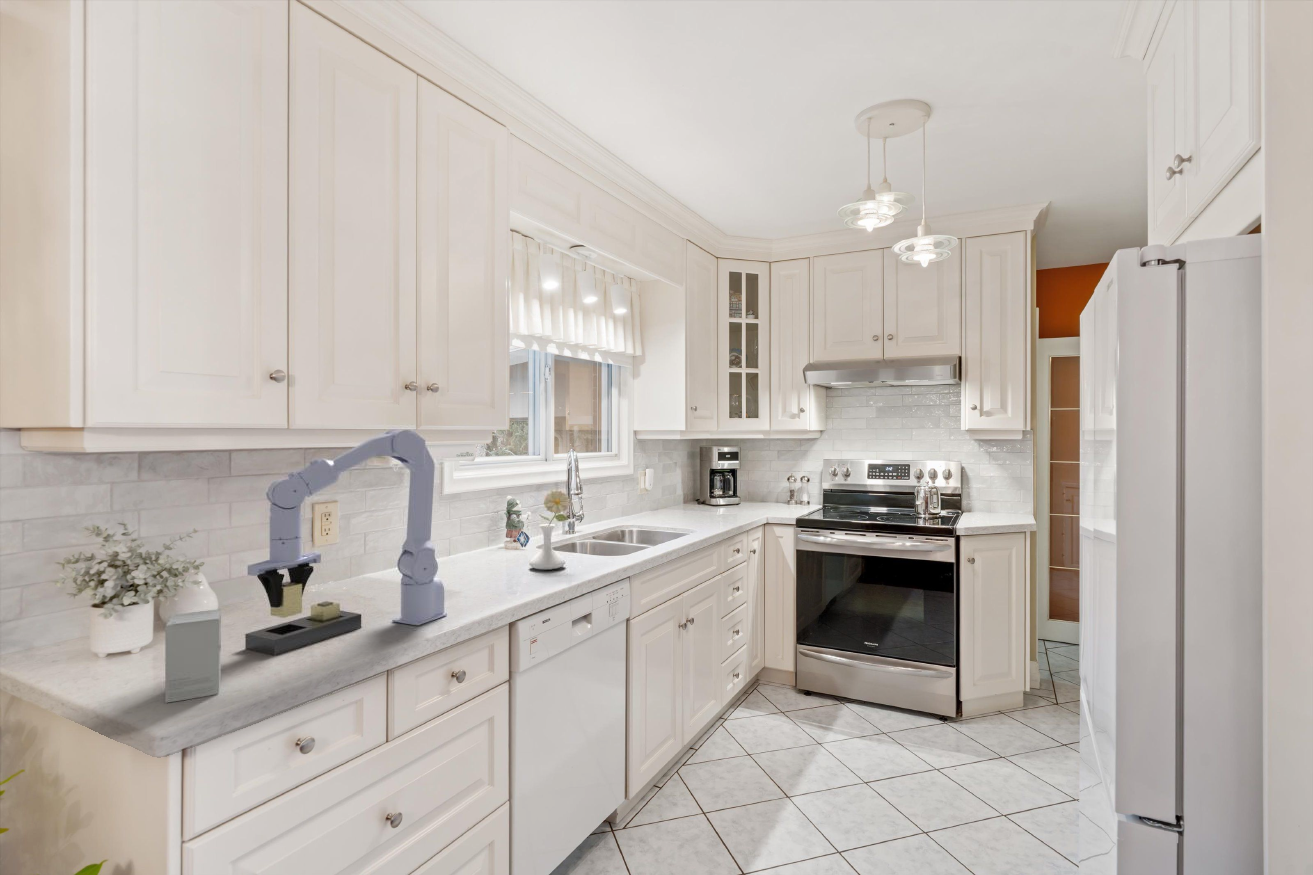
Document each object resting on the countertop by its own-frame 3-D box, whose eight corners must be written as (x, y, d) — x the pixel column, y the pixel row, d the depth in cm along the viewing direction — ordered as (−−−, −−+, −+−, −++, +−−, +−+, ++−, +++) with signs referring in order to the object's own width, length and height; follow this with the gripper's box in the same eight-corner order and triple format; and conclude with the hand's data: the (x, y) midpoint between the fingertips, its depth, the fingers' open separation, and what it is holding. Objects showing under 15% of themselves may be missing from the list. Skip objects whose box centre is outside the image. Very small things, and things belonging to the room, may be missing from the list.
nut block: (289, 610, 135) (289, 580, 135) (301, 612, 134) (301, 582, 134) (270, 615, 132) (270, 584, 132) (283, 617, 130) (283, 586, 130)
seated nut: (327, 628, 144) (327, 599, 144) (339, 630, 142) (339, 601, 142) (310, 633, 140) (310, 604, 140) (323, 635, 138) (323, 606, 138)
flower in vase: (524, 571, 202) (524, 491, 201) (535, 564, 213) (535, 488, 213) (565, 572, 200) (565, 491, 200) (574, 565, 211) (574, 488, 211)
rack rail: (333, 622, 148) (333, 609, 148) (361, 627, 144) (361, 614, 144) (245, 648, 130) (245, 633, 130) (274, 655, 126) (274, 640, 126)
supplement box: (219, 694, 107) (219, 618, 107) (163, 704, 104) (163, 625, 103) (222, 679, 114) (221, 607, 114) (169, 688, 110) (169, 613, 110)
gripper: (305, 531, 141) (305, 593, 141) (237, 541, 128) (237, 610, 128) (327, 533, 138) (327, 597, 138) (260, 544, 125) (260, 614, 125)
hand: (286, 604), depth 133 cm, fingers closed on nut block, 4 cm apart
